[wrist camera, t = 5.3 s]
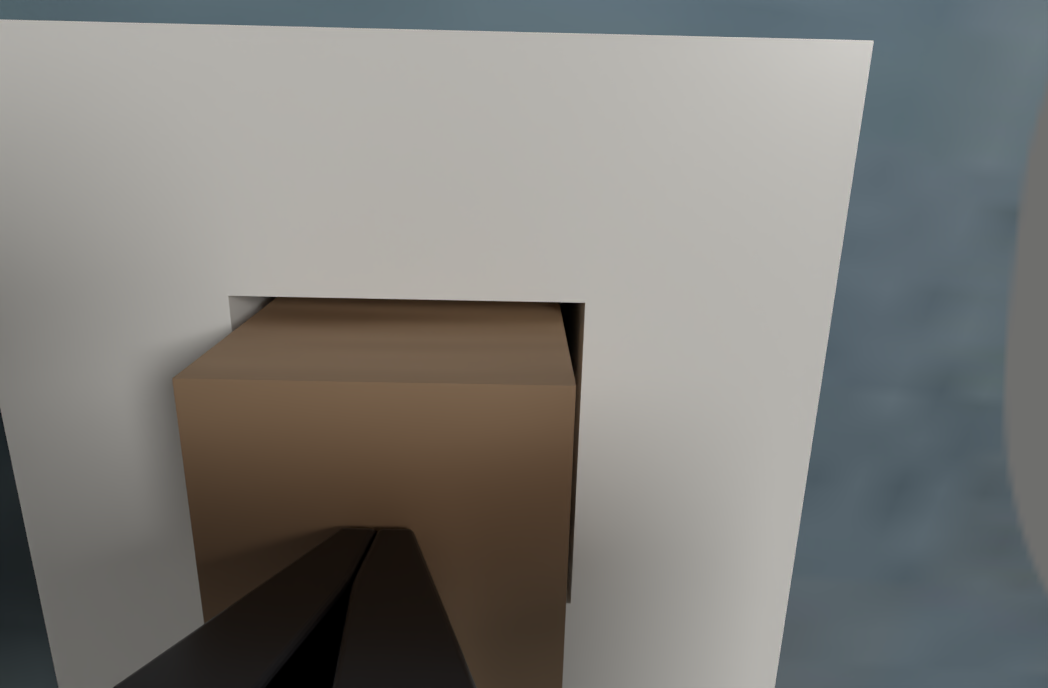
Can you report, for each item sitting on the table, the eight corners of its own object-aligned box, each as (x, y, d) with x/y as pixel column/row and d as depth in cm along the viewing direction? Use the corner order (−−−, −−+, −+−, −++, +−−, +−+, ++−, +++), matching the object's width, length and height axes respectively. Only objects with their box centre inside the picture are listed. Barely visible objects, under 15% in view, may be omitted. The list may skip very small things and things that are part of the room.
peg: (546, 496, 15) (560, 708, 9) (322, 492, 14) (214, 704, 9) (554, 278, 13) (576, 385, 8) (307, 273, 13) (171, 378, 8)
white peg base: (652, 911, 22) (697, 1187, 17) (254, 907, 22) (162, 1185, 16) (739, 67, 15) (873, 40, 9) (149, 53, 15) (-82, 18, 9)
